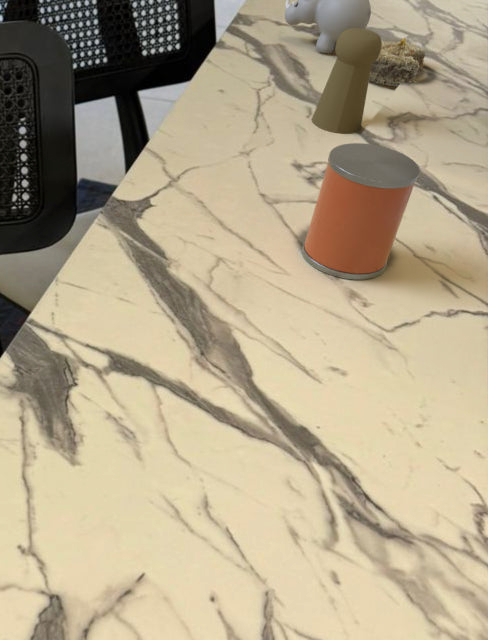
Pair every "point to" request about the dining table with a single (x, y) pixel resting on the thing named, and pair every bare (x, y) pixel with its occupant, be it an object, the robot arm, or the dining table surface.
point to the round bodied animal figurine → (329, 18)
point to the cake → (397, 63)
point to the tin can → (359, 210)
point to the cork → (348, 82)
